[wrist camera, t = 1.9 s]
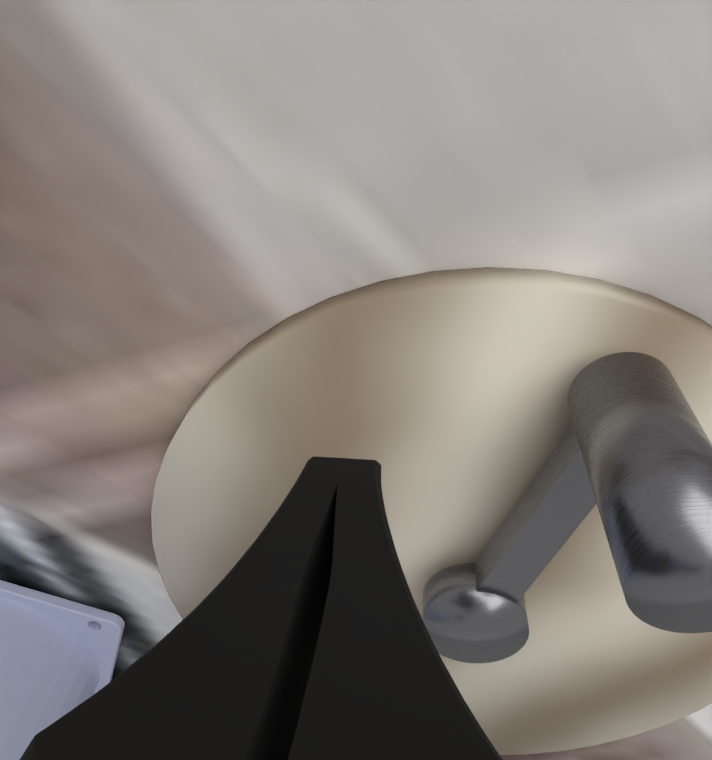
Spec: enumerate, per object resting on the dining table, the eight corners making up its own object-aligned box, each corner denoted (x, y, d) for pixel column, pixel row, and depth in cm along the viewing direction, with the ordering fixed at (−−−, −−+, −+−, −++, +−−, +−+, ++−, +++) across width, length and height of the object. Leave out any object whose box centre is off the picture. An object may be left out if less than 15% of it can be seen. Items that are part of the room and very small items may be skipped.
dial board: (121, 641, 25) (110, 668, 24) (246, 140, 14) (233, 153, 13) (587, 776, 27) (592, 806, 26) (1004, 431, 16) (1037, 460, 16)
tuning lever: (496, 639, 21) (514, 835, 16) (407, 611, 20) (400, 804, 16) (708, 377, 15) (833, 569, 10) (589, 333, 14) (663, 511, 10)
